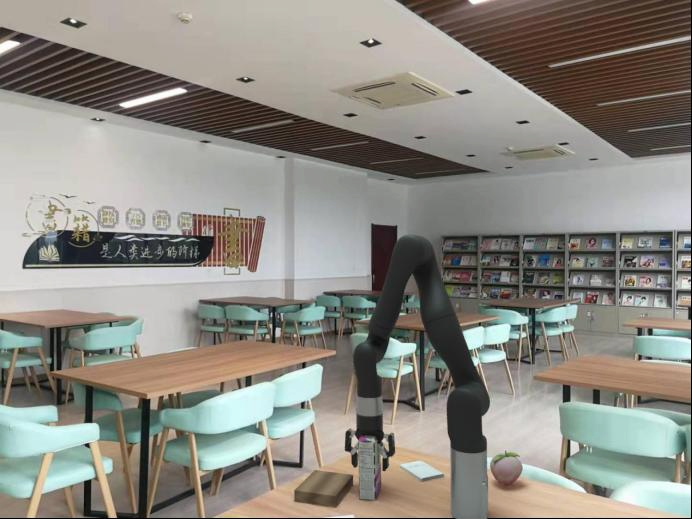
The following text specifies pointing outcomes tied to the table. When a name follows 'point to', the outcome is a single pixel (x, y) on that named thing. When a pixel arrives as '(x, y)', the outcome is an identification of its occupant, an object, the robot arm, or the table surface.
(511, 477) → the decorative fruit
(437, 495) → the table surface
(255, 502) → the table surface
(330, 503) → the block
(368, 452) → the candy bar box
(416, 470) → the external hard drive
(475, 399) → the robot arm
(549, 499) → the table surface
